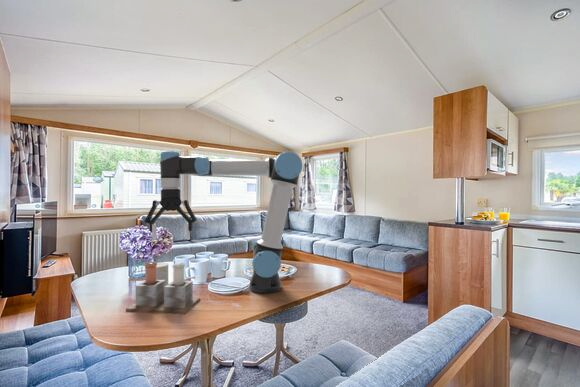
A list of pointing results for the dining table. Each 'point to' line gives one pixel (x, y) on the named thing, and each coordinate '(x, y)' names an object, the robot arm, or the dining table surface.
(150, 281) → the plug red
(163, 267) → the beige rectangular block
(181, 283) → the plug cream
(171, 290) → the socket board
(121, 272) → the dining table surface
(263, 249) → the robot arm
